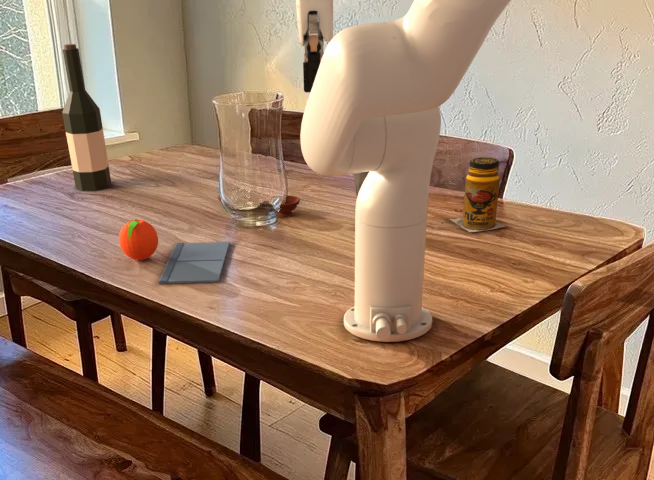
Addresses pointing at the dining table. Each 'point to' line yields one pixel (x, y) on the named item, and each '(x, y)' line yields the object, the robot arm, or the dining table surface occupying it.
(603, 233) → the dining table surface
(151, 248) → the clementine
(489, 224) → the condiment
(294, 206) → the pottery
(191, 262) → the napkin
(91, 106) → the wine bottle
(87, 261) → the dining table surface
